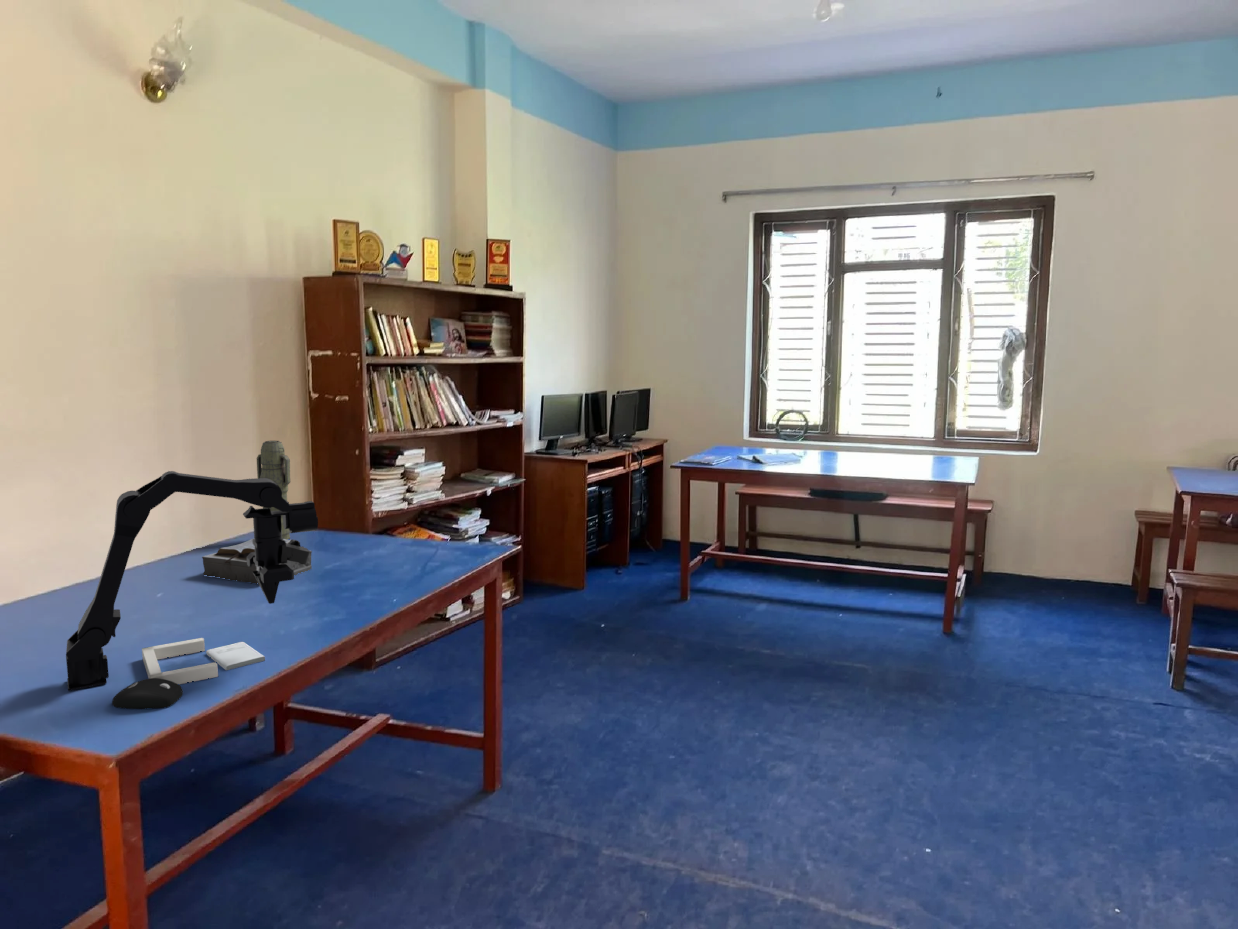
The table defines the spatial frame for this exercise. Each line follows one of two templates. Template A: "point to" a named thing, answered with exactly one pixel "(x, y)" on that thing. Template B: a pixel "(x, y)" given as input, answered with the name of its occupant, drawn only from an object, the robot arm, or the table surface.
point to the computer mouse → (148, 694)
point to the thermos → (275, 471)
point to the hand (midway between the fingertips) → (271, 603)
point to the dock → (178, 649)
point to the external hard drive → (235, 655)
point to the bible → (241, 563)
